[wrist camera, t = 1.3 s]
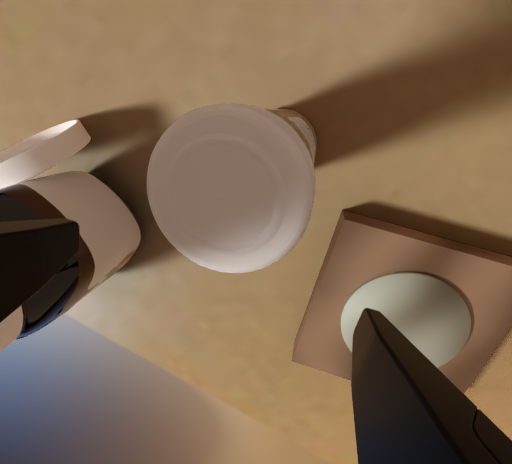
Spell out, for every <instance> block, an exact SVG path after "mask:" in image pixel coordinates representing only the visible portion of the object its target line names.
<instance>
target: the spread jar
mask: <svg viewBox="0 0 512 464" xmlns="http://www.w3.org/2000/svg"><path fill="white" fill-rule="evenodd" d="M90 140H91V137H90V136H89V134H88V133H87V131H86V130H85V128H84V127H83V125H82V124H81V122H80V121H79V120H77V119H76V120H71V121H68V122H65V123H62V124H59V125H56V126H54V127H51V128H49V129H46V130H44V131H42V132H39V133H37V134H35V135H33V136H31V137H28V138H26V139H24V140H22V141H20V142H18V143H16V144H14V145H12V146H10V147H8V148H6V149H4V150H2V151H0V222H10V221H27V220H43V219H59V218H66V219H70V220H73V221H76V222H77V223H78V224H79V228H80V247H79V250H78V252H77V253H76V254H75V255H74V256H73V257H72V258H71V259H70V260H69V261H68V262H67V263H66V264H65V265H64V266H63V267H62V268H61V269H60V270H59V271H58V272H57V273H56V274H55V276H54V277H53V278H52V279H51V280H50V281H49V282H48V283H46V284H45V285H44V286H43V287H42V288H41V289H40V290H39V291H38V292H37V293H35V294H34V295H33V296H32V297H31V298H29V299H28V300H27V301H26V302H25V303H23V304H22V305H21V306H20V307H19V308H17V309H16V310H15V311H14V312H13V313H11V314H10V315H9V316H8V317H7V318H5V319H4V320H3V321H2V322H1V323H0V351H1V350H3V349H4V348H5V347H7V346H8V345H9V344H11V343H12V342H13V341H15V340H17V339H20V338H24V337H26V336H28V335H31V334H33V333H35V332H37V331H39V330H40V329H42V328H43V327H45V326H46V325H48V324H49V323H51V322H52V321H54V320H55V319H56V318H58V317H59V316H61V315H62V314H64V313H65V312H67V311H68V310H69V309H70V308H72V307H73V306H74V305H75V304H76V303H77V302H79V301H80V300H81V299H82V298H84V297H85V296H86V295H87V294H89V293H90V292H91V291H93V290H94V289H95V288H96V287H98V286H99V285H100V284H102V283H103V282H104V281H106V280H107V279H108V278H109V277H111V276H112V275H113V274H114V273H116V272H117V271H118V270H119V269H120V268H121V267H123V266H124V265H125V264H126V263H127V262H128V261H129V259H130V258H131V257H132V256H133V254H134V253H135V251H136V250H137V248H138V246H139V244H140V241H141V228H140V226H139V223H138V221H137V219H136V217H135V215H134V214H133V212H132V210H131V209H130V207H129V206H128V205H127V203H126V202H125V201H124V200H123V199H122V198H121V197H120V196H119V195H118V194H117V193H116V192H115V191H114V190H113V189H112V188H111V187H110V186H108V185H107V184H106V183H104V182H103V181H101V180H100V179H98V178H97V177H95V176H93V175H91V174H89V173H86V172H82V171H70V172H64V173H59V174H54V175H50V176H46V177H41V178H37V179H33V180H29V181H25V180H28V179H30V178H32V177H34V176H36V175H38V174H40V173H43V172H44V171H46V170H48V169H50V168H52V167H54V166H56V165H57V164H59V163H61V162H63V161H64V160H66V159H68V158H69V157H71V156H73V155H74V154H75V153H77V152H78V151H80V150H81V149H82V148H84V147H85V146H86V145H87V144H88V143H89V142H90ZM23 181H25V182H23Z"/></svg>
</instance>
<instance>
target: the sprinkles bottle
mask: <svg viewBox="0 0 512 464" xmlns="http://www.w3.org/2000/svg"><path fill="white" fill-rule="evenodd" d="M316 147H317V139H316V135H315V132H314V129H313V127H312V126H311V124H310V123H309V122H308V120H307V119H306V118H305V117H304V116H302V115H301V114H299V113H298V112H296V111H293V110H288V109H263V108H260V107H256V106H252V105H246V104H218V105H211V106H206V107H202V108H199V109H195V110H193V111H191V112H189V113H187V114H185V115H183V116H182V117H181V118H179V119H178V120H176V121H175V122H174V123H173V124H172V125H171V126H169V127H168V128H167V130H166V131H165V132H164V133H163V134H162V136H161V137H160V139H159V140H158V142H157V144H156V146H155V148H154V150H153V152H152V155H151V157H150V161H149V165H148V170H147V195H148V200H149V204H150V208H151V211H152V214H153V216H154V219H155V221H156V223H157V225H158V227H159V228H160V230H161V232H162V233H163V235H164V236H165V237H166V238H167V240H168V241H169V242H170V243H171V244H172V245H173V246H174V247H175V248H176V249H177V250H178V251H179V252H180V253H182V254H183V255H184V256H186V257H187V258H189V259H190V260H192V261H193V262H195V263H197V264H199V265H201V266H203V267H206V268H209V269H212V270H216V271H220V272H227V273H245V272H251V271H256V270H260V269H262V268H265V267H268V266H269V265H271V264H273V263H275V262H277V261H278V260H280V259H281V258H283V257H284V256H286V255H287V254H288V253H289V252H290V251H291V250H292V249H293V248H294V246H295V245H296V244H297V242H298V241H299V240H300V238H301V237H302V235H303V234H304V232H305V230H306V227H307V225H308V222H309V220H310V216H311V211H312V207H313V203H314V196H315V171H314V161H315V154H316V150H317V148H316Z"/></svg>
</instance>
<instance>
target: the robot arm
mask: <svg viewBox="0 0 512 464" xmlns="http://www.w3.org/2000/svg"><path fill="white" fill-rule="evenodd" d="M79 247H80V228H79V224H78V223H77V222H76V221H73V220H70V219H66V218H59V219H43V220H27V221H10V222H0V323H1V322H2V321H3V320H4V319H5V318H7V317H8V316H9V315H10V314H11V313H13V312H14V311H15V310H16V309H17V308H19V307H20V306H21V305H22V304H23V303H25V302H26V301H27V300H28V299H29V298H31V297H32V296H33V295H34V294H35V293H37V292H38V291H39V290H40V289H41V288H42V287H43V286H44V285H45V284H46V283H48V282H49V281H50V280H51V279H52V278H53V277H54V276H55V274H56V273H57V272H58V271H59V270H60V269H61V268H62V267H63V266H64V265H65V264H66V263H67V262H68V261H69V260H70V259H71V258H72V257H73V256H74V255H75V254H76V253H77V252H78V250H79ZM351 387H352V400H353V411H354V422H355V433H356V443H357V454H358V464H512V440H510V439H509V438H508V437H507V436H506V435H505V434H504V433H503V432H502V431H501V430H500V429H499V428H498V427H497V426H496V425H495V424H494V423H493V422H492V421H491V420H490V419H489V418H488V417H487V416H486V415H485V414H484V413H483V412H482V411H481V410H479V409H477V407H476V406H475V405H474V404H473V403H472V402H471V401H470V400H469V399H468V398H467V397H466V396H465V395H464V394H463V393H462V392H461V391H460V390H459V389H458V388H457V387H456V386H455V385H454V384H453V383H452V382H451V381H450V380H449V379H448V378H447V377H446V376H445V375H444V374H443V373H442V372H441V371H440V370H439V369H438V368H437V367H436V366H435V365H434V364H433V363H432V362H431V361H430V360H429V359H428V358H427V357H426V356H425V355H424V354H423V353H422V352H421V351H420V350H419V349H417V348H416V347H415V346H414V345H413V344H412V343H411V342H410V341H409V340H408V339H407V338H406V337H405V336H404V335H403V334H402V333H401V332H400V331H399V330H398V329H397V328H396V327H395V326H394V325H393V324H392V323H391V322H390V321H389V320H388V319H387V318H386V317H385V316H384V315H383V314H382V313H381V312H379V311H377V310H374V309H370V308H365V309H364V310H363V311H362V313H361V316H360V318H359V320H358V323H357V325H356V327H355V329H354V333H353V342H352V377H351Z"/></svg>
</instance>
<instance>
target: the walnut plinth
mask: <svg viewBox="0 0 512 464" xmlns="http://www.w3.org/2000/svg"><path fill="white" fill-rule="evenodd" d="M365 308H370V309H374V310H377V311H379V312H381V313H382V314H383V315H384V316H385V317H386V318H387V319H388V320H389V321H390V322H391V323H392V324H393V325H394V326H395V327H396V328H397V329H398V330H399V331H400V332H401V333H402V334H403V335H404V336H405V337H406V338H407V339H408V340H409V341H410V342H411V343H412V344H413V345H414V346H415V347H416V348H417V349H419V350H420V351H421V352H422V353H423V354H424V355H425V356H426V357H427V358H428V359H429V360H430V361H431V362H432V363H433V364H434V365H435V366H436V367H437V368H438V369H439V370H440V371H441V372H442V373H443V374H444V375H445V376H446V377H447V378H448V379H449V380H450V381H451V382H452V383H453V384H454V385H455V386H456V387H457V388H458V389H459V390H460V391H461V392H462V393H463V394H464V393H465V391H466V390H467V389H468V387H469V386H470V384H471V383H472V382H473V380H474V379H475V377H476V376H477V375H478V373H479V372H480V370H481V369H482V368H483V366H484V365H485V363H486V362H487V360H488V359H489V358H490V356H491V355H492V353H493V352H494V351H495V349H496V348H497V346H498V345H499V344H500V342H501V341H502V339H503V338H504V337H505V335H506V334H507V332H508V331H509V330H510V328H511V327H512V257H510V256H506V255H503V254H499V253H496V252H492V251H488V250H485V249H481V248H478V247H474V246H470V245H467V244H463V243H460V242H456V241H452V240H449V239H445V238H442V237H438V236H434V235H431V234H427V233H424V232H420V231H416V230H413V229H409V228H406V227H402V226H398V225H395V224H391V223H388V222H384V221H380V220H377V219H373V218H370V217H366V216H362V215H359V214H355V213H352V212H348V211H344V210H342V212H341V215H340V218H339V220H338V223H337V226H336V229H335V231H334V234H333V237H332V240H331V243H330V245H329V248H328V251H327V254H326V256H325V259H324V262H323V265H322V267H321V270H320V273H319V276H318V278H317V281H316V284H315V287H314V290H313V292H312V295H311V298H310V301H309V303H308V306H307V309H306V312H305V314H304V317H303V320H302V323H301V325H300V328H299V331H298V334H297V337H296V339H295V342H294V348H293V357H292V361H294V362H297V363H300V364H303V365H306V366H309V367H312V368H315V369H318V370H321V371H324V372H327V373H330V374H333V375H336V376H339V377H342V378H345V379H348V380H351V377H352V342H353V333H354V329H355V327H356V325H357V323H358V320H359V318H360V316H361V313H362V311H363V310H364V309H365Z"/></svg>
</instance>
